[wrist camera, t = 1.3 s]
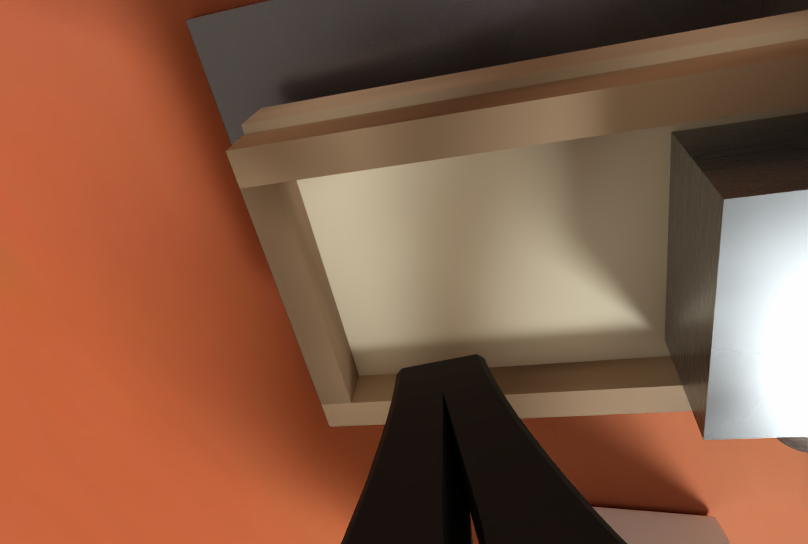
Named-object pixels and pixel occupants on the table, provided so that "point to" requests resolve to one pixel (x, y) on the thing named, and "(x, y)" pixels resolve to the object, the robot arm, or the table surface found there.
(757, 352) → the block
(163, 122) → the table surface
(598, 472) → the table surface
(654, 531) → the milk carton
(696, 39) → the beam
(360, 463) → the table surface
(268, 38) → the beam stand
